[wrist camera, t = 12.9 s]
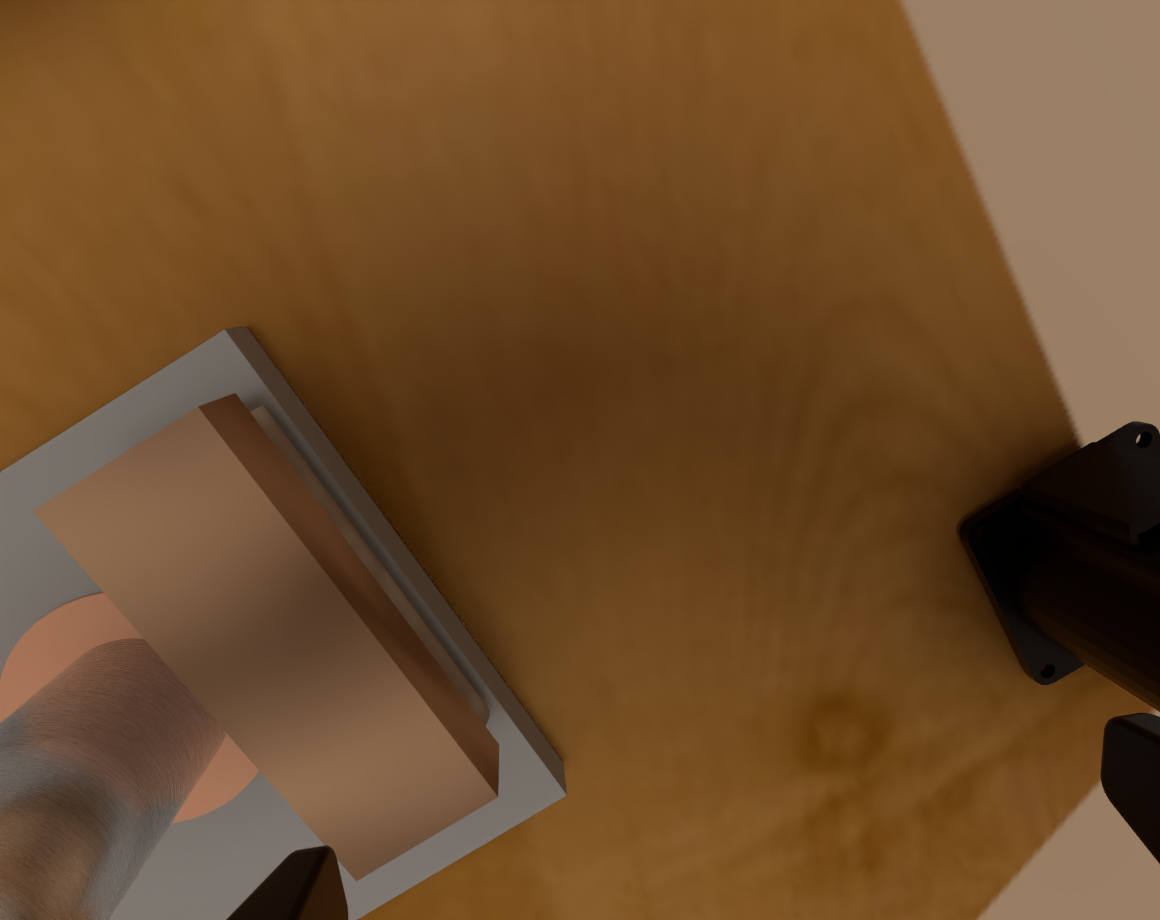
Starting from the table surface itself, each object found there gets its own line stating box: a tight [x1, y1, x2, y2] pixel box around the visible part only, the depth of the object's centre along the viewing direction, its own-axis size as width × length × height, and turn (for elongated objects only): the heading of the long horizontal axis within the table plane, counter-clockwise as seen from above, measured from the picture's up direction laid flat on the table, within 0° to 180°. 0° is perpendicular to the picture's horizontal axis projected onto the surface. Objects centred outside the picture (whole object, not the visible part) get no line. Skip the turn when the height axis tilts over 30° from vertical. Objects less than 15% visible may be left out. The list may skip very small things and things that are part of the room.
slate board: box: [0, 327, 567, 920], centre depth 20 cm, size 16×15×2 cm
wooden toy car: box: [33, 393, 500, 881], centre depth 17 cm, size 11×4×4 cm, turn 31°
